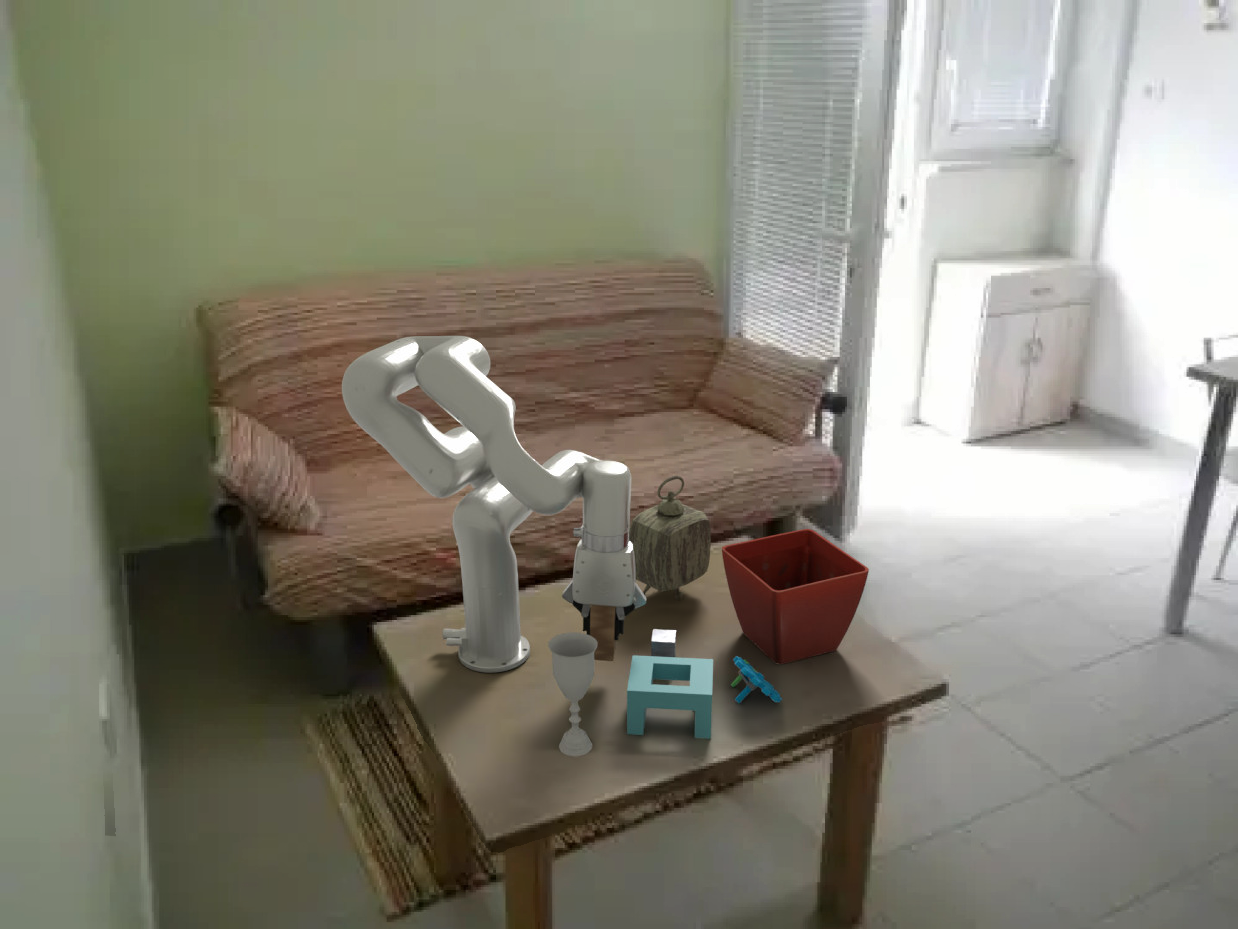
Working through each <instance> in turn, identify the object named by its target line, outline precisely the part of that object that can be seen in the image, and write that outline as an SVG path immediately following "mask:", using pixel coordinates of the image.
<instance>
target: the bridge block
mask: <svg viewBox="0 0 1238 929" xmlns="http://www.w3.org/2000/svg"><path fill="white" fill-rule="evenodd" d="M631 657H632V658H631V663H630V670H629V676H628V682H627V687H626V688H627V689H626V690H627V691H626V717H627V718H626V722H627V723H626V727H627V728H626V733H627V735H635V736H636V735H638V736H644V731H645V725H646V724H645V723H646V714H647V709H655V710H656V709H657V710H659V709H660V710H674V711H675V710H677V711H692V712H693V711H694V712H695V714H694V715H695V716H694V738H696V739H712V712H713V676H714V675H713V674H714V673H713V672H714V659H713V658H699V657H698V658H697V657H696V658H695V657H656V656H650V655H634V654H633V655H632V656H631ZM654 680H660V681H661V680H665V681H683V682H684V681H685V682H689V685H676V684H675V685H673V684H656V683H655V684H653V683H654Z"/></svg>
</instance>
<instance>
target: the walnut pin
mask: <svg viewBox="0 0 1238 929" xmlns="http://www.w3.org/2000/svg"><path fill="white" fill-rule="evenodd" d="M590 607H591V610H590V636H592V637H593V638H595V639H596V641H597V643H598V644H597V648H596V650H595V651H594V661H603V662H614V658H615V654H616V649H617V648H616V647H617V641H615V640H614V632H615V617H616V612H617V611H616V607H615V606H602V605H591V606H590Z"/></svg>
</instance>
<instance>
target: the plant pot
mask: <svg viewBox="0 0 1238 929" xmlns="http://www.w3.org/2000/svg"><path fill="white" fill-rule="evenodd" d="M721 555H722V561H723V567H724V571H725V577H726V581H727V585H728V586H727V587H728V590H729V595H730V598H731V601H732V604H733V608H734V611H735V614H736V617H737V620H738V622H739V625H740V628H741V631H742V633H743V635H745V636H746V638H748V639H749V640H750V641H751V642H752V643H753V644H754V645H755V646H756V648H758V649H760V651H762V652H763V653H764V654H765V655H766V656H767V657H768V658H769V659H770V660H771V661H772V662H774V663H775V664H777V665H783V664H787V663H791V662H797V661H800V660H803V659H808V658H810V657H811V658H812V657H815V656H819V655H823V654H827V653H831V652H835V651H837V649H838V648H839V646H840V645H841V644H842V641H843V640H844V638H845V636H846V634H847V632H848V631H849V628H850V626H851V624H852V622H853V620H854V617H855V615H856V613H857V611H858V607H859V605H860V602H861V600H862V599H861V598H862V597H863V596H862V595H863V593H864V590H865V586H866V583H867V581H868V576H869V570H870V569H869V567H867V566H866V565H864V563H862V562H860V561H859V560H857V559H856V558H855V557H853V556H852V555H850V554H848V553H847V552H845V551H844V550H843V549H841V548H839V547H838V546H837V545H835V544H834V543H833V542H831V541H829V540H828V539H826V538H825V537H823V535H821V534H819V532H816V531H815V530H814V529H811V528H804V529H798V530H797V529H796V530H794V531H788V532H783V533H779V534H774V535H769V536H764V537H759V538H755V539H751V540H746V541H741V542H735V543H731V544H726V545H724V546H722V547H721Z"/></svg>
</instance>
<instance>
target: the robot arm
mask: <svg viewBox="0 0 1238 929" xmlns="http://www.w3.org/2000/svg"><path fill="white" fill-rule="evenodd" d="M491 364H492V362H491V358H490V355H489V352H488V351H487V349H486V348H485V346H484V345H482V344H481V343H480V341H477V340H476V339H474V338H472V337H469V336H465V335H439V336H438V335H428V336H427V335H425V336H424V335H423V336H421V335H420V336H419V335H418V336H405V337H402V338H401V337H400V338H398V339H396V340H393V341H392V342H389V343H386V344H384V345H381V346H379V347H377V348H375V349H372V350H370V351H368V352H366V353H364V354H362V355H360V356H358V358H356V359H355V360H353V361H352V362H351V363H350V364H349V365H348V367H347V368H346V370H344V374H343V378H342V381H341V394H342V399H343V403H344V405H345V408H346V410H347V413H348V414H349V416H350V417H351V419H352V420H353V421H354V422H355V423H356V424H357V425H358V427H359V428H361V430H363V431H364V432H365V433H366V434H367V435H368V436H370V437H371V438H372V439H374V440H375V442H377V443H378V444H379V445H381V446H382V448H384V449H385V450H386V451H387V453H389V455H390V456H392V458H393V459H394V460H395V461H396V462H397V463H398V464H399V465H400V466H401V467H402V468H403V469H404V470H405V471H406V473H408V475H410V476H411V478H413V479H414V480H415V482H416V483H417V484H419V485H420V487H422V488H423V489H424V490H425V491H426V493H428V494H429V495H431V496H432V497H435V498H438V499H445V498H446V499H447V498H450V497H452V496H453V495H455V494H457V493H458V492H460V491H461V490H463V489H464V488H466V487H467V486H469V485H470V486H471V488H473V489H472V490H470V491H469V492H468V493H467V494H466V495H464V497H462V498H461V499H460V500H459V503H457V505H456V507H455V508H454V511H453V514H452V530H453V534H454V537H455V540H456V544H457V547H458V553H459V559H460V561H459V562H460V572H461V573H460V574H461V580H462V596H463V612H464V627H461V629H458V628H457V629H455V628H443V631H442V639H443V640H446V641H445V644H446V646H449V647H456V646H457V647H458V650H457V652H458V659H459V661H460V663H461V664H462V665H463V666H465V667H466V668H468V669H470V670H472V671H474V672H480V673H490V674H492V673H501V672H507V671H509V670H512V669H515V668H518V667H519V666H521V665H522V664H523V663H525V662H526V661H527V660H528V658H529V657H530V654H531V646H530V644H531V643H529V640H528V639H527V638H526V637H525V636H523V635H521V615H520V594H519V574H518V561H517V556H516V553H515V550H514V548H513V546H512V543H511V541H510V540H511V539H510V537H511V533H512V532H513V531H514V530H515V529H517V527H518V526H520V525H521V524H522V523H523V522H524V521H525V520H526V519H527V518H528V517H529V516H530V515H531V514H532V513H533V512H534V513H537V514H538V515H543V516H554V515H556V514H559V513H561V512H563V510H565V509H566V508H567V507H569V505H570V504H572V502H573V501H575V500H576V499H577V500H578V499H579V498H582V525H581V526H580V527H574V528H573V534H572V535H573V537H578V538H580V539H579V542H578V543H577V546H576V549H575V553H574V554H575V555H574V561H573V571H572V572H573V573H572V580H571V581H570V583H569V584H568V585H567V586H566V587H565V589H564V590H563V592H562V595H561V597H562V599H564V600H565V601H566V602H568V603H569V604H572V606H573V607H574V608H575V609H576V610H577V611H578V612H579V613H580V615H581V617H582V631H583V632H586V634H587V635H590V610H591V605H602V606H615V607H616V611H617V612H616V617H615V632H614V640H615V641H616V642H619V637H620V634H621V635H623V634H624V629H625V618H626V617H627V616H628V615H630V614H631V613H632V612H633V611H635V609H639V608H640V607H643V606H644V605H645V604H647V596H646V597H645V595H644V594H643V591H642V589H641V588H640V586H639V585H638V583H637V580H636V566H635V555H634V549H633V544H632V543H631V542H630V541H629V531H630V526H631V522H630V521H631V500H632V499H631V497H632V496H631V494H632V474H631V471H630V468H629V467H628V466H627V465H626V464H624V463H622V462H619V461H615V460H601V459H598V458H596V457H593V456H591V455H589V454H586V453H584V452H582V451H579V450H573V449H565V450H564V449H563V450H561V451H559V452H557V453H555V454H554V455H553V456H551V457H550V458H549V459H548V460H546V461H545V462H544V463H543V464H540V463H539V462H538V461H537V460H535V459H534V458H533V457H532V456H531V455H530V454H529V453H528V452H527V451H526V450H525V448H523V447H522V445H521V443H520V441H519V440H518V438H517V435H516V433H515V431H516V430H515V413H516V409H517V408H516V407H517V405H516V403H515V400H514V399H513V398H512V397H511V396H509V395H508V394H507V393H506V392H505V391H504V390H502V389H501V388H500V387H499V386H498V385H497V384H496V383H495V382H493V381H492V380H491V379H490V378H489V377H487V376H488V375H489V372H490V370H491ZM416 387H419V388H420V389H421V390H422V392H424V393H425V394H426V395H427V396H428V397H429V398H431V400H432V401H434V402H435V403H436V404H437V405H438V406H439V407H440V408H441V409H443V410H444V411H445V412H446V413H447V414H449V416H451V417H452V418H454V420H456V421H457V422H458V423H459V424H460V425H461V426H457V427H455V428H452V429H450V430H448V431H446V432H445V433H443V432H441V431H440V430H439V429H438V428H436V426H434V425H433V424H432V423H431V422H430V420H429V419H428V418H427V417H426V416H425V415H424V414H422V413H421V412H420V411H418V410H416V409H415V408H413V407H411V406H409V405H407V404H404V403H402V402H401V401H399V400H398V396H400V395H402V394H404V393H407V391H409V390H411V389H413V388H416Z"/></svg>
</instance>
